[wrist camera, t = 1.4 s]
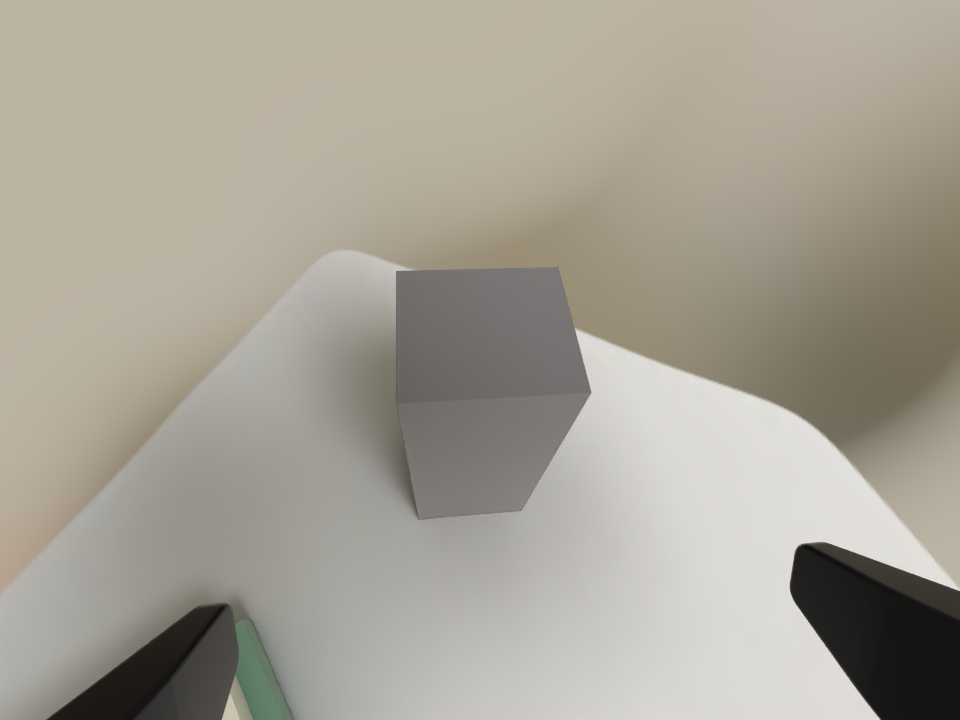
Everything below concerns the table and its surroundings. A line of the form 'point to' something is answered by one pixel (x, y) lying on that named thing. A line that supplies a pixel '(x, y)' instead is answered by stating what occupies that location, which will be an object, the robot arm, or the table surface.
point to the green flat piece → (254, 682)
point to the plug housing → (484, 384)
